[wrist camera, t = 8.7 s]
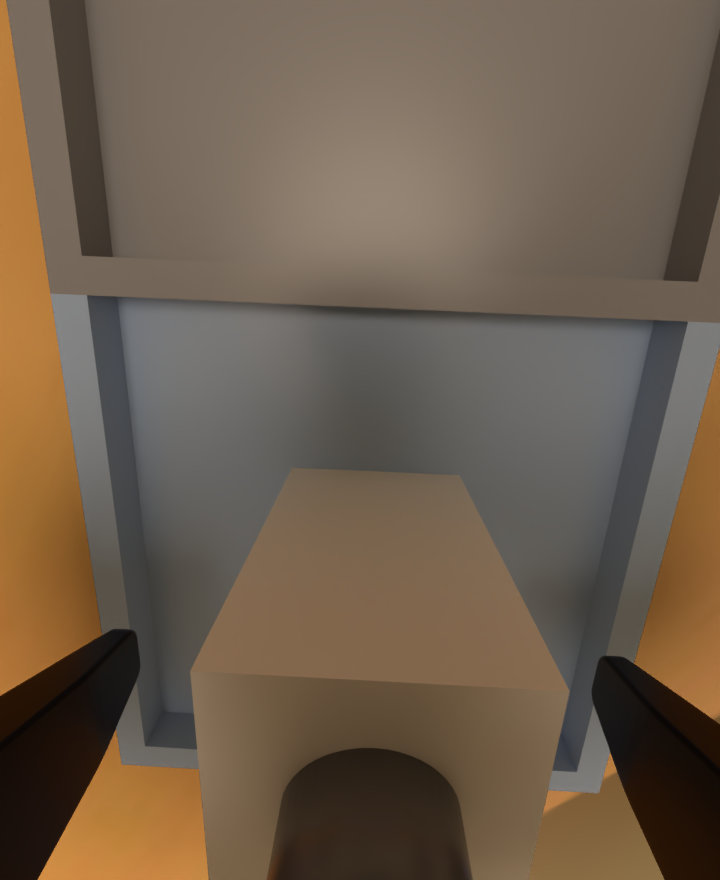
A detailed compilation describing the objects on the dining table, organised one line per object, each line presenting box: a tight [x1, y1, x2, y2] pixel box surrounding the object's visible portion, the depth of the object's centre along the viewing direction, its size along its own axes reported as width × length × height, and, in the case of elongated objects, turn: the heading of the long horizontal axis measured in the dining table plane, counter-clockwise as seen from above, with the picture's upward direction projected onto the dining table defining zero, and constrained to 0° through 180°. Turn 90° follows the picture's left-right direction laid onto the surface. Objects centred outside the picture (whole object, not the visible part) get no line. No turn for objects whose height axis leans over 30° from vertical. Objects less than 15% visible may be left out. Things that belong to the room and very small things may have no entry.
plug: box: [190, 468, 570, 880], centre depth 9 cm, size 4×4×9 cm
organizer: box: [6, 0, 720, 793], centre depth 10 cm, size 15×28×2 cm, turn 178°
